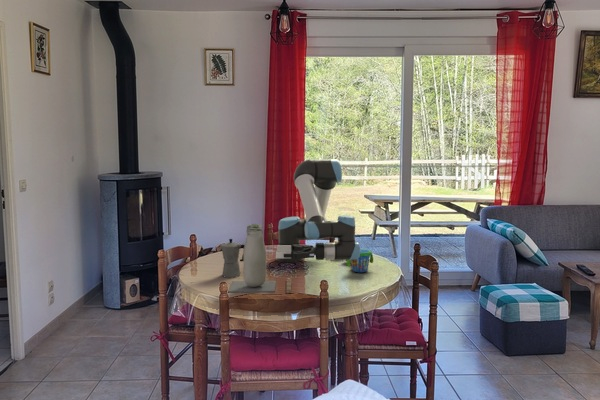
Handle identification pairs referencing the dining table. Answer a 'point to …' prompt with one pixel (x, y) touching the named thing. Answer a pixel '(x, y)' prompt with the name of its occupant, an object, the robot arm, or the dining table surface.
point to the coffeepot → (231, 258)
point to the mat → (243, 287)
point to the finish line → (288, 286)
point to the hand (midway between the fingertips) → (276, 251)
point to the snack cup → (361, 261)
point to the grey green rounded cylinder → (254, 256)
